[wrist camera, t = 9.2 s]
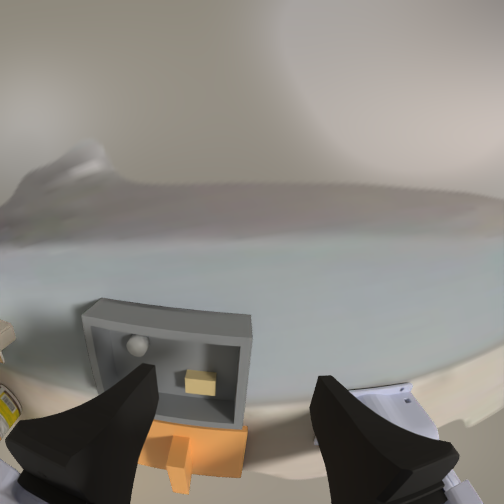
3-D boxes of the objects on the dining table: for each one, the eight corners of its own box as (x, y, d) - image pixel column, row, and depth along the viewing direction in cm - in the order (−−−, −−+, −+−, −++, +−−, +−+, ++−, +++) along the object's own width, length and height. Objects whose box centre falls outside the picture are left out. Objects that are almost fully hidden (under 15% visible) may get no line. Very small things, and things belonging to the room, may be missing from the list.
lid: (247, 419, 23) (248, 464, 17) (240, 466, 25) (241, 504, 19) (124, 402, 22) (105, 441, 17) (138, 452, 24) (127, 487, 19)
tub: (250, 314, 20) (252, 337, 17) (241, 402, 22) (242, 429, 19) (102, 297, 20) (81, 315, 16) (115, 384, 21) (102, 406, 18)
